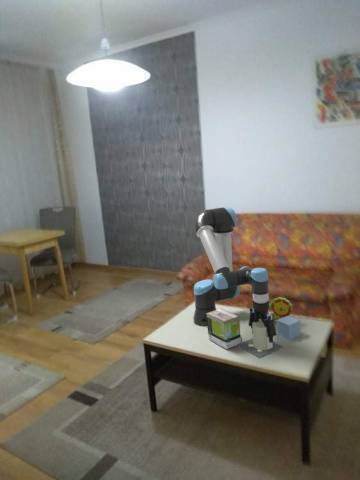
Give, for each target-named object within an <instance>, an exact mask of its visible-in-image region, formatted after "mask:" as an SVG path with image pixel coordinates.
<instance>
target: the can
mask: <svg viewBox="0 0 360 480" xmlns="http://www.w3.org/2000/svg"><path fill="white" fill-rule="evenodd" d="M252 326H253V333H252V338H253V346H254V348H256V349H258V350H269V349H267V336H268V334H267V328H266V327H265V326H264V323H263V322H262V320H261V319H259V321H258V322H253V323H252ZM270 349H271V348H270Z"/></svg>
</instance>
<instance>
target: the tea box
mask: <svg viewBox="0 0 360 480" xmlns="http://www.w3.org/2000/svg"><path fill="white" fill-rule="evenodd" d="M206 314H207V325H208V326H207V332H208V333H207V335H208V340H210V341H211V342H213V343H215V344H217V345H218V346H220V347H222V348H224V349H226V350H228V349H230V348H233V347H236V346H237V345H238V344H240V343H242V336H241V324H240V322H241V321H240V315H238V314H235V313H232V312H230V311H228V310H226V309H223V308H218V309H216V310H215V311H212V312H209V313H206Z"/></svg>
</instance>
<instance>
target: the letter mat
mask: <svg viewBox="0 0 360 480" xmlns="http://www.w3.org/2000/svg"><path fill="white" fill-rule="evenodd" d="M272 344H273V347H272V348H271V349H269V350H258V349H256V348H254V346H253V337H252V338H250V339H248V340H246V341H243V342H241V343H240V344H238V345H236V346H237V347H238V348H241V349H242V350H244V351H246V352H248V353H249V354H251V355H253V356H255V357H256V358H258V359H261V358H264V357H266V356H268V355H270V354H272V353H273V352H276V351H278V350H281V349H282V348H285V347H284V345H282V344H280V343H278V342H275V341H274V340H273V342H272Z"/></svg>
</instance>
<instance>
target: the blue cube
mask: <svg viewBox="0 0 360 480" xmlns="http://www.w3.org/2000/svg"><path fill="white" fill-rule="evenodd" d="M276 336H280V337H282V338H284V339H286V340H288V341H291V340H292V339H295V338H297V337H299V336H301V321H300V320H299V319H297V318H294V317H292V316H290V315H289V316H286V317H283V318H281V319H279V320H277V321H276Z"/></svg>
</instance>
